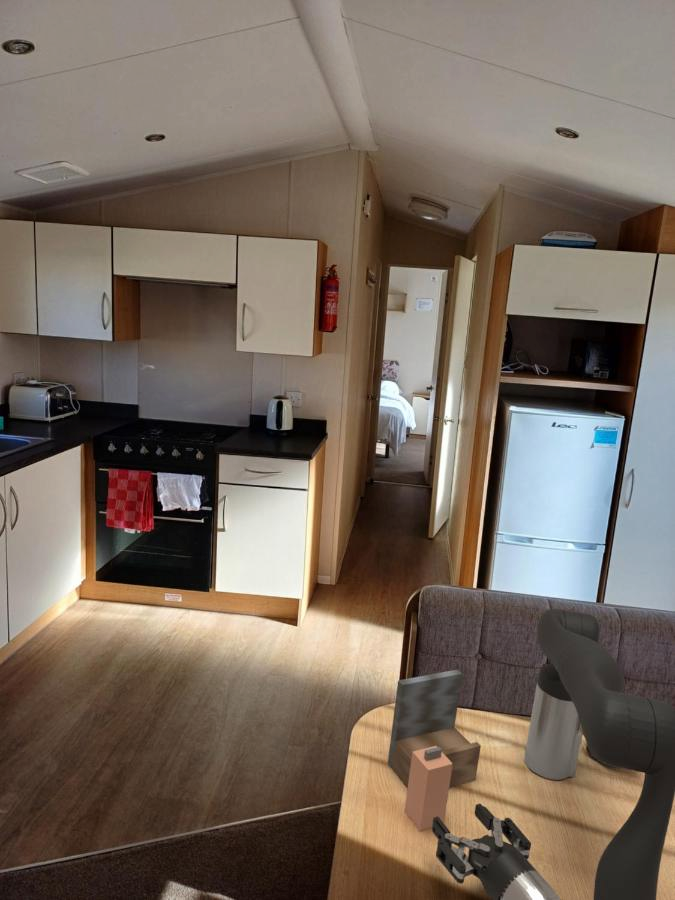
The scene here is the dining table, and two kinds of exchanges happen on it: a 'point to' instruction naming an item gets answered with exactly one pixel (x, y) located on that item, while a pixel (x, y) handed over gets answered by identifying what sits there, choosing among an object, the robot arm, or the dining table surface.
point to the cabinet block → (428, 786)
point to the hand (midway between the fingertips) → (455, 814)
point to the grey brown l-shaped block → (431, 726)
